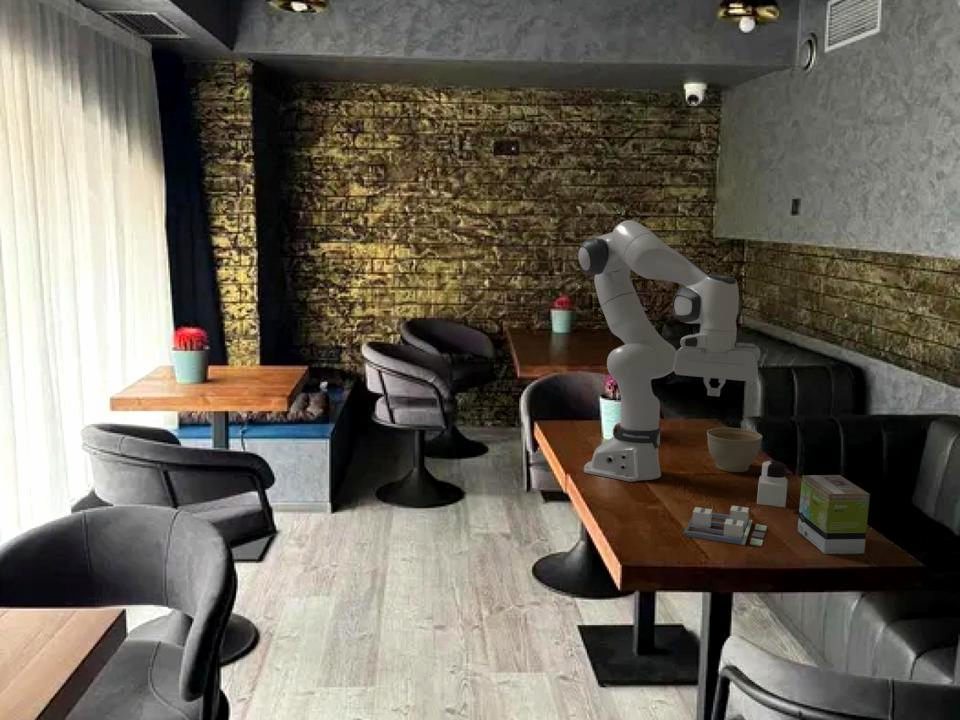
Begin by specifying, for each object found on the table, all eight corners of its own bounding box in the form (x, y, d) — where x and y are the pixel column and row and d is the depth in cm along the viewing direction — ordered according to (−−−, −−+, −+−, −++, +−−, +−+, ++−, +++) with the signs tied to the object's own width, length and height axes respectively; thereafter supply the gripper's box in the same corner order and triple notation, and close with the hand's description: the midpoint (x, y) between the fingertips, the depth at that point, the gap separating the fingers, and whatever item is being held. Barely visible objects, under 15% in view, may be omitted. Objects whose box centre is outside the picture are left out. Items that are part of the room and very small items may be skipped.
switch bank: (662, 538, 216) (663, 528, 216) (676, 516, 233) (676, 507, 232) (764, 554, 208) (765, 544, 208) (770, 530, 225) (771, 520, 224)
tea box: (795, 532, 224) (800, 473, 222) (835, 532, 225) (840, 473, 222) (823, 555, 209) (829, 492, 207) (865, 554, 210) (872, 492, 208)
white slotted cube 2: (691, 527, 221) (692, 511, 220) (694, 522, 224) (695, 506, 224) (708, 530, 219) (709, 513, 218) (711, 525, 223) (712, 508, 222)
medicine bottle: (785, 504, 246) (789, 460, 244) (784, 512, 239) (788, 467, 237) (757, 500, 248) (761, 457, 246) (756, 508, 241) (759, 464, 239)
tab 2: (723, 540, 213) (724, 523, 212) (725, 534, 216) (726, 517, 216) (740, 543, 211) (742, 525, 210) (742, 537, 215) (744, 520, 214)
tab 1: (728, 526, 223) (730, 509, 222) (730, 521, 226) (732, 504, 226) (745, 528, 221) (747, 511, 221) (747, 523, 225) (748, 507, 224)
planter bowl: (699, 460, 288) (702, 426, 286) (751, 462, 288) (754, 428, 286) (710, 474, 272) (713, 439, 270) (765, 477, 272) (768, 441, 270)
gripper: (762, 342, 226) (757, 397, 228) (678, 336, 234) (675, 389, 236) (759, 345, 220) (755, 402, 223) (674, 339, 228) (670, 393, 230)
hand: (713, 395), depth 229 cm, fingers closed
